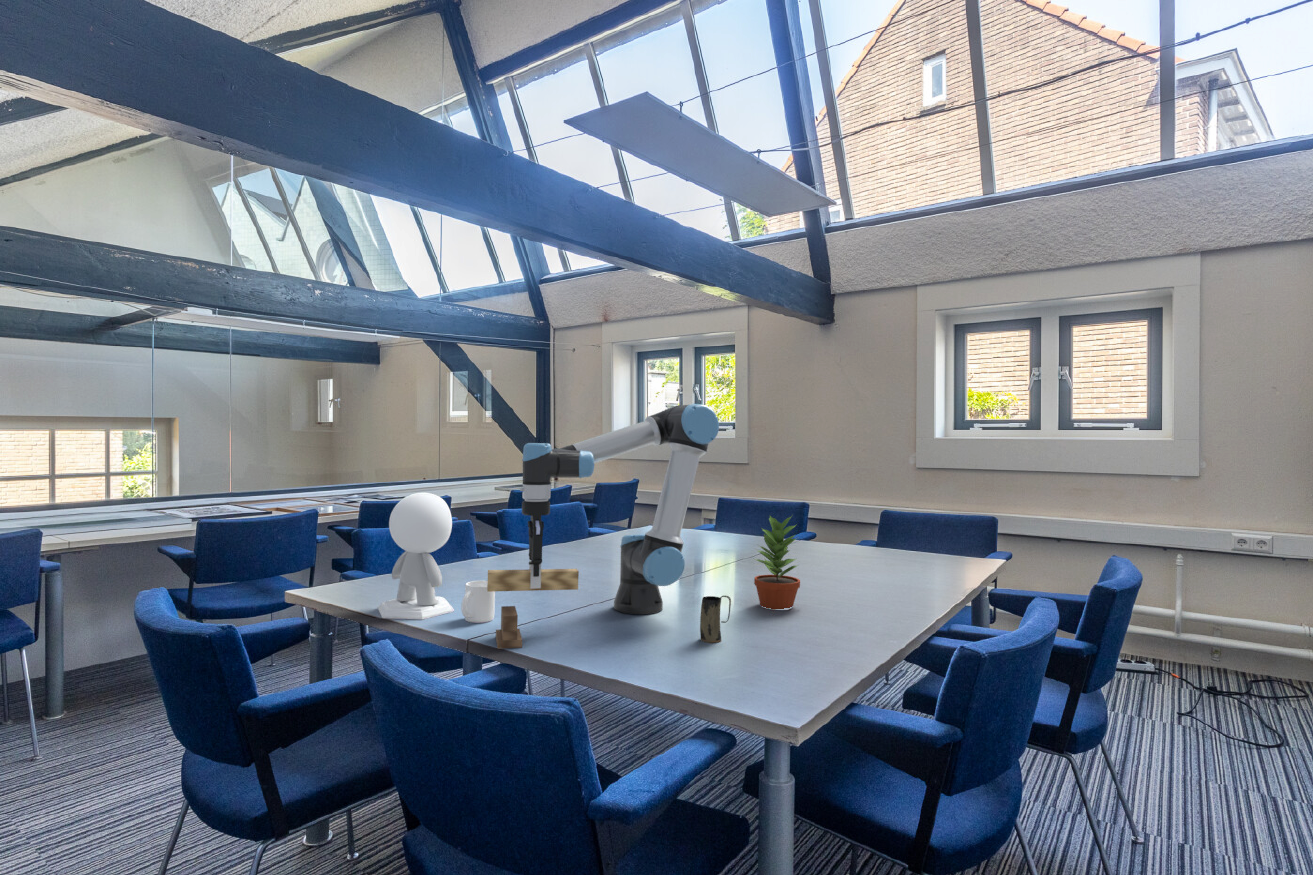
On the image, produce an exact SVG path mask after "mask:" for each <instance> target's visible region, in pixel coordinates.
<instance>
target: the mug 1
mask: <svg viewBox="0 0 1313 875" xmlns="http://www.w3.org/2000/svg"><path fill="white" fill-rule="evenodd" d="M487 583H488V580H472V581H468V582H466V583H465V584H464V586H465V587H464V588H465V590H464V592H465V593H464V596H463V598H462V601H461V608H460V609H461V614H462V615H463V617H464V620H465V621H466V622H468V623H471V624H472V623H473V624H481V623H483V624H484V623H488V622H492V621H493V620H494V619H495V612H496V611H495V610H496V609H495V608H496V607H495V606H496V605H495V604H496V591H493V592H488V591H487Z"/></svg>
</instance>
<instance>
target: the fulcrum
mask: <svg viewBox="0 0 1313 875" xmlns="http://www.w3.org/2000/svg"><path fill="white" fill-rule="evenodd" d="M500 610H501V612H500V613H501V614H500V629H495V642H496V647H497V649H498V650H500V649H501V650H502V649H519V648H523V638H522V632H521V630H520V628H518V623H519V621H518V619H519V618H518V617H519V616H518V612H517V609H516V606H515V605H509V606H508V605H505V606H501V608H500Z"/></svg>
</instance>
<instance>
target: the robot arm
mask: <svg viewBox="0 0 1313 875" xmlns="http://www.w3.org/2000/svg"><path fill="white" fill-rule="evenodd" d="M719 430H720V423H719V419H718V416H717V414H716V412H715V411H714V410H713V409H712V408H711V407H710V406H707V405H705V404H698V403H691V404H680V405H674V406H671V407H669V408H666V409H664V410H662V411H660V412H657V413H655V414H651V415H649V416H646V417H645V420H643V421H640V422H637V423H634V424H631V425H628V426H626V427H625V426H624V427H623V428H619V429H616V430H613V431H609V432H607V433H603V434H600V435H598V436H594V437H590V438H587V439H585V440H582V441H579V442H575V443H572V444H570V445H566V446H563V447H560V448H552V444H550V443H548V442H547V443H545V442H543V443H542V442H541V443H540V442H539V443H538V442H528V443H525V444H524V445H523V452H522V487H520V488H519V491H520V492H522V496H521V497H522V502H521V514H522V515H523V516H530V520H528V521H527V528H528V560H529V561H528V569H529V570H530V569H531V576H530V589H534V588H541V569H542V564H543V537H544V528H545V523H544V520H542V517H543V516H547V515H548V516H549V515H550V514H551V502H550V499H551V497H552V496H551V494H552V493H551V491H552V490H551V488H552V485H551V483H552V482H551V479H552V478H553V479H555V478H560V479H561V478H567V479H568V478H570V479H571V478H572V479H573V478H575V479H576V478H578V479H582V478H590V477H592V475H593V473H594V471H595V464H597V463H601V462H602V461H606V460H610V459H611V458H614V457H619V456H620V455H624V454H627V453H629V452H634V451H635V450H639V449H641V448H644V447H645V448H646V447H648V446H651V445H653V446H654V447H658V446H661V445H664V444H668V446H669V447H670V449H671V453H670V456H669V460H668V465H667V468H666V471H665V476H664V480H663V483H662V488H661V491H660V496H659V500H658V503H657V508H656V512H655V515H654V519H653V522H652V528H651V529H650V530H648V531H646V532H645V533H644V534H627V535H626V534H625V535H623V536H622V537H621V543H620V545H619V546H620V547H619V548H620V576H619V577H620V579H619V580H620V581H619V585H618V589H617V592H616V593H615V598H614V600H613V609H614V610H615V611H617V612H620V613H622V614H628V615H629V614H630V615H648V614H649V615H650V614H656V613H660V612H661V611H663V608H664V606H663V604H664V602H663V599H662V595H661V592H660V588H659V587H668V586H671V585H673V584H674V583H676V582H677V581H678V580H679V579H680V578H681V576H682V575H683V574H684V570H685V564H686V562H685V558H684V556H683V554H682V551H683V548H684V541H683V540H682V537H681V533H682V530H683V526H684V521H685V518H686V513H687V510H688V507H689V502H690V499H691V498H690V497H691V493H692V490H693V486H694V482H695V479H696V473H697V470H698V467H699V462H700V459H701V458H702V457H703V456H704V455H706V454H707V452H708V448H709V445H710V443H711V442H713V441H714V440H715V439H716V437H717V436H718V434H719Z"/></svg>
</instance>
